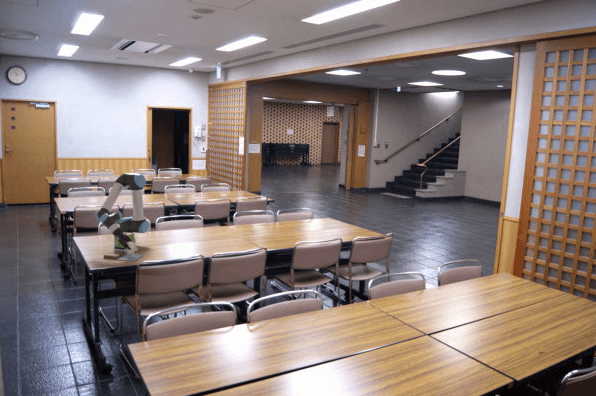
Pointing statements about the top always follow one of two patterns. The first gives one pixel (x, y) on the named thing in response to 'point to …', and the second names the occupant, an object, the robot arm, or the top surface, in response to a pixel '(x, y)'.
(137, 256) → the slate mat
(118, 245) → the tea box
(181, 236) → the top surface
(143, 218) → the robot arm
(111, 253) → the walnut deck
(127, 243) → the ceramic canister
